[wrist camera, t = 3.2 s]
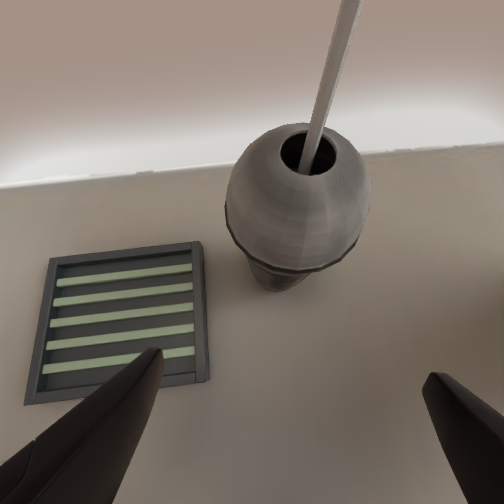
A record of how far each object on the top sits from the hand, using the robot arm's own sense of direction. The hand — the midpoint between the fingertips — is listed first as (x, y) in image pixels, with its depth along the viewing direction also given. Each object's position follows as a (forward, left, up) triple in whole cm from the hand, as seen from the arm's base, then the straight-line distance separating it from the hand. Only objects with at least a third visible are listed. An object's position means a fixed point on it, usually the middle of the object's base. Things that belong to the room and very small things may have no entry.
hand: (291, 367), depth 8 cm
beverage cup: (+2, -7, -14) cm, 16 cm away
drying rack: (+13, +1, -14) cm, 19 cm away
